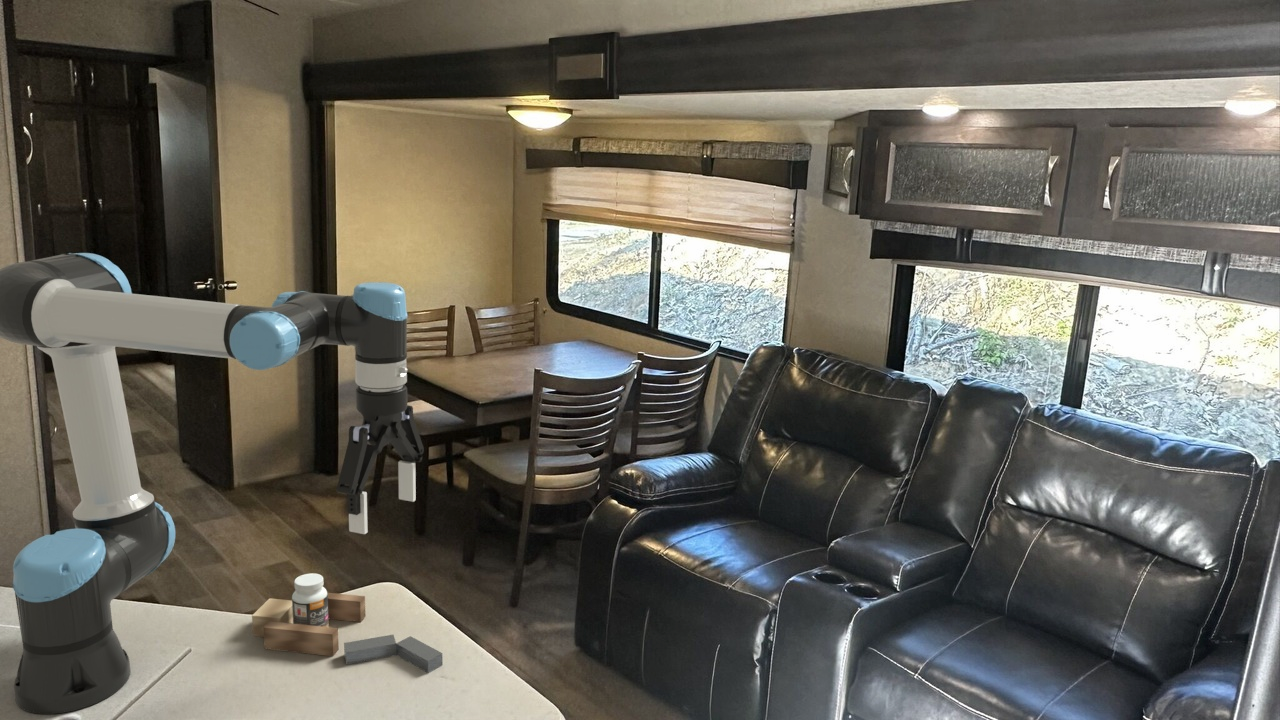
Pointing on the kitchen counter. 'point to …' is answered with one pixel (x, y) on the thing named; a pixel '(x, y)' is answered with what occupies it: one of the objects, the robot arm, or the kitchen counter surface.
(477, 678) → the kitchen counter surface
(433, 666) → the v block
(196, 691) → the kitchen counter surface
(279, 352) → the robot arm
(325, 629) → the channel
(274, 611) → the block
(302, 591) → the pill bottle
